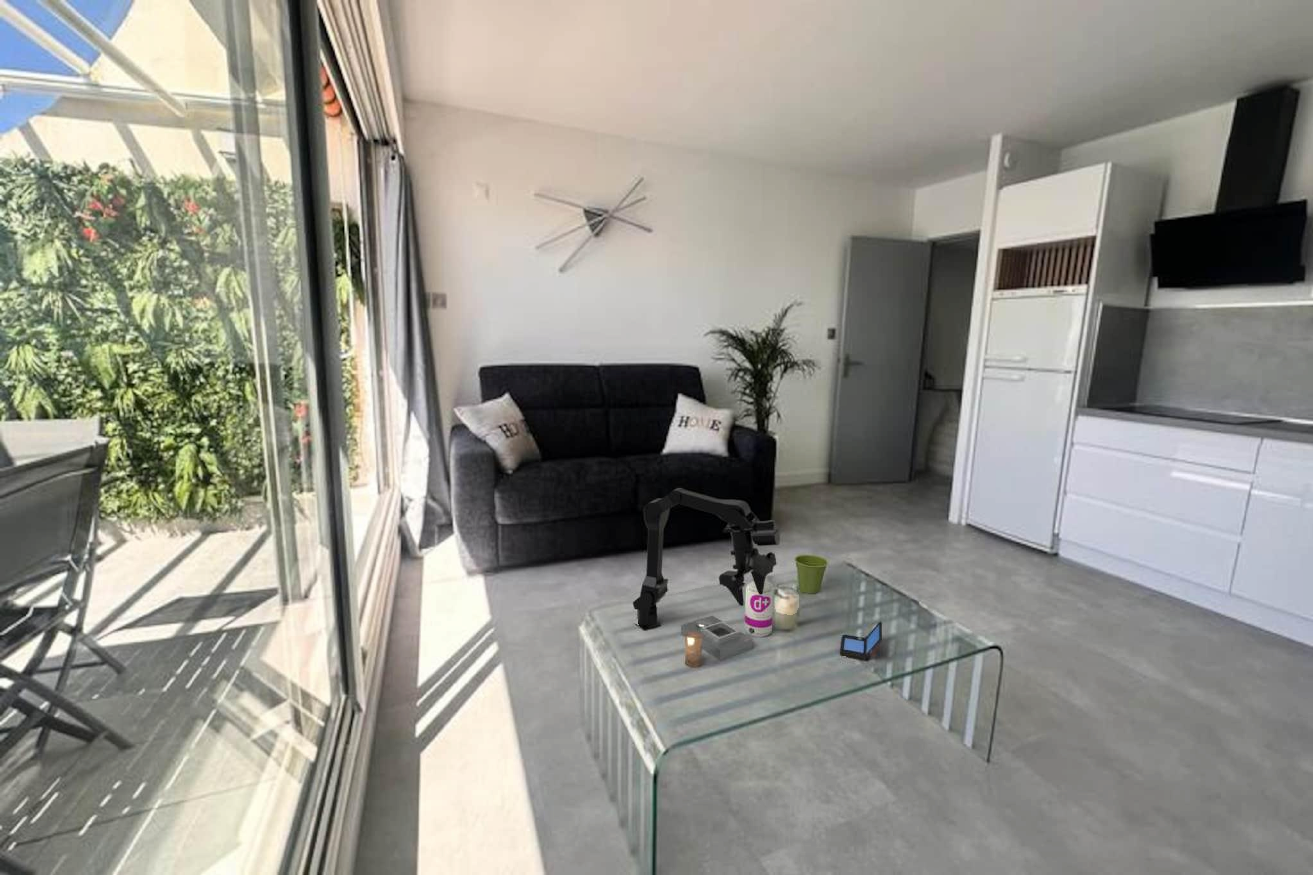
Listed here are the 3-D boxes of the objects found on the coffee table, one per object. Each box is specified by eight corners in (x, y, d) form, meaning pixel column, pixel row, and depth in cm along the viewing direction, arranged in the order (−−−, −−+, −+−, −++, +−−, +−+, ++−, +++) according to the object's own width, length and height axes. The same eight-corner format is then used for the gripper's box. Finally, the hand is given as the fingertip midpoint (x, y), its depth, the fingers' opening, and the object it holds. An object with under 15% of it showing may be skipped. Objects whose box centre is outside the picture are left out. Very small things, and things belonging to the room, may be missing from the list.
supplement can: (771, 639, 171) (773, 590, 169) (743, 636, 173) (745, 588, 171) (771, 626, 179) (773, 580, 177) (744, 624, 181) (746, 578, 179)
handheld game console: (841, 637, 173) (843, 613, 172) (880, 644, 170) (882, 620, 169) (838, 657, 162) (840, 632, 161) (880, 665, 158) (882, 639, 157)
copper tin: (681, 661, 158) (682, 634, 156) (694, 657, 160) (695, 630, 159) (691, 669, 154) (692, 641, 153) (704, 664, 156) (705, 636, 155)
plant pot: (793, 595, 203) (795, 564, 201) (791, 582, 214) (793, 553, 213) (828, 598, 201) (830, 567, 199) (824, 585, 213) (826, 556, 211)
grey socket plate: (680, 634, 173) (681, 620, 173) (711, 624, 180) (712, 610, 179) (720, 660, 158) (720, 645, 158) (752, 648, 165) (752, 634, 165)
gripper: (746, 558, 151) (755, 616, 152) (785, 538, 164) (793, 592, 164) (713, 555, 159) (722, 610, 159) (753, 536, 172) (761, 587, 172)
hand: (751, 599), depth 164 cm, fingers open, 9 cm apart
